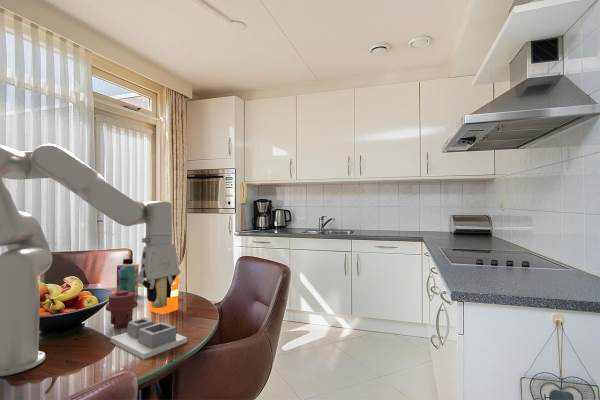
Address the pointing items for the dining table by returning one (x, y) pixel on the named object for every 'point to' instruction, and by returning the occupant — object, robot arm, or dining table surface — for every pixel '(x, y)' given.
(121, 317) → the mechanical component
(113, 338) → the plate
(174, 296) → the orange juice
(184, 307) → the dining table surface
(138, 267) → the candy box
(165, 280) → the brass pipe fitting
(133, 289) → the beverage bottle
